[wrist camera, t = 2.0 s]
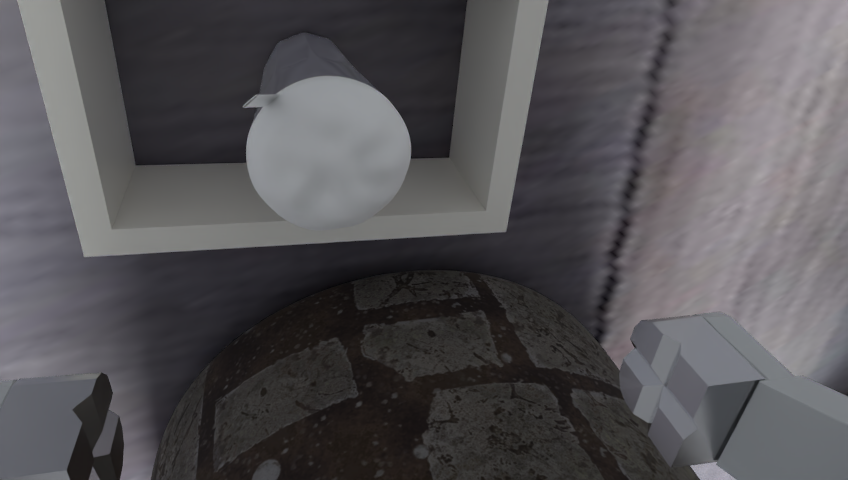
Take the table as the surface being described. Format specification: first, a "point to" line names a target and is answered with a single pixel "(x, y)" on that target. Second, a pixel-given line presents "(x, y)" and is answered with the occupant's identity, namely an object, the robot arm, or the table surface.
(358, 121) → the milkshake
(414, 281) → the planter
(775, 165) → the table surface
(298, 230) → the frame
